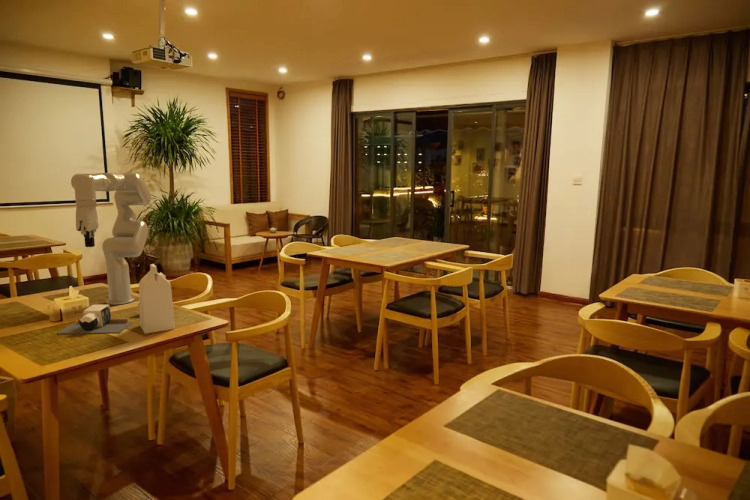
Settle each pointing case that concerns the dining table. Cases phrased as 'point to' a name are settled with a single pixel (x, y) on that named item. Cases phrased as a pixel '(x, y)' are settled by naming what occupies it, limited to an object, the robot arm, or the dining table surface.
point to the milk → (155, 302)
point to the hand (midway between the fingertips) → (90, 246)
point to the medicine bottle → (95, 317)
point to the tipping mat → (110, 327)
